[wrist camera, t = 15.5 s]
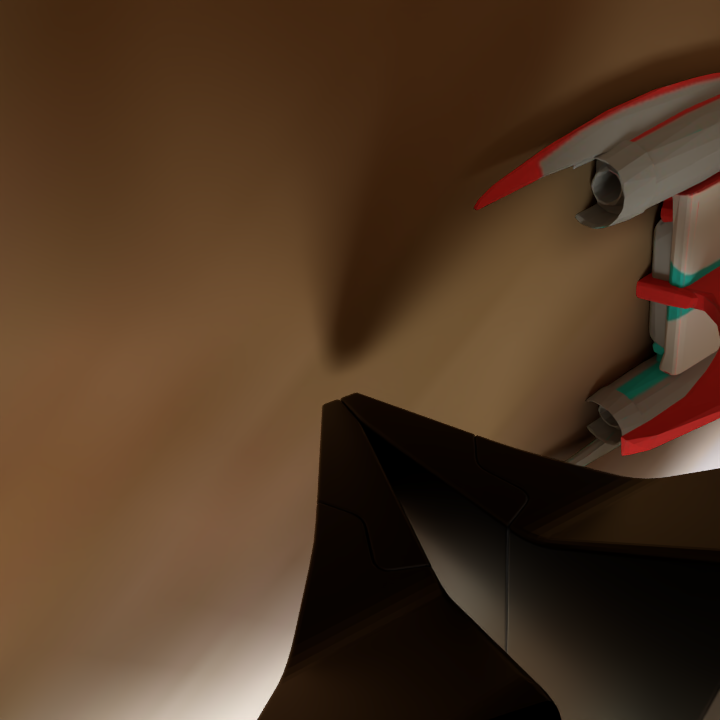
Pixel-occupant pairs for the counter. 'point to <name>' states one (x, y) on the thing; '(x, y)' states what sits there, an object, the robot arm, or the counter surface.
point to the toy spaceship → (654, 253)
